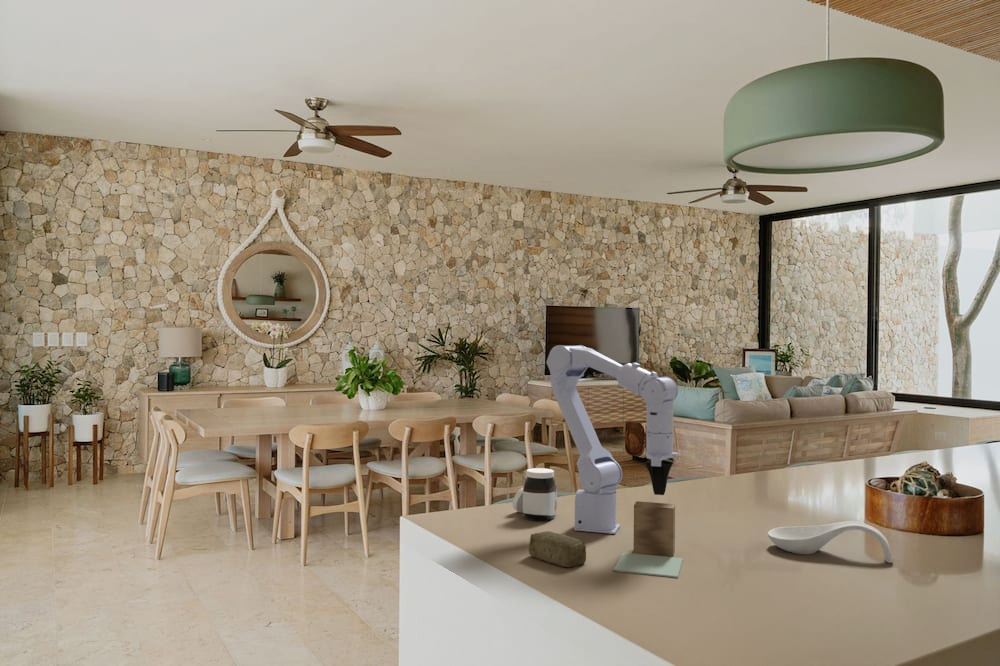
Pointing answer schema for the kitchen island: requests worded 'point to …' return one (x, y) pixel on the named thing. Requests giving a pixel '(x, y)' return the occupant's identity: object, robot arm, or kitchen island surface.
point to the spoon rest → (821, 537)
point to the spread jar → (537, 495)
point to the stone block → (557, 549)
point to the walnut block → (654, 529)
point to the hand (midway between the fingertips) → (659, 494)
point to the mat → (649, 565)
